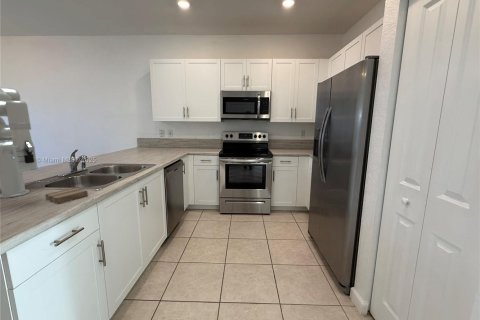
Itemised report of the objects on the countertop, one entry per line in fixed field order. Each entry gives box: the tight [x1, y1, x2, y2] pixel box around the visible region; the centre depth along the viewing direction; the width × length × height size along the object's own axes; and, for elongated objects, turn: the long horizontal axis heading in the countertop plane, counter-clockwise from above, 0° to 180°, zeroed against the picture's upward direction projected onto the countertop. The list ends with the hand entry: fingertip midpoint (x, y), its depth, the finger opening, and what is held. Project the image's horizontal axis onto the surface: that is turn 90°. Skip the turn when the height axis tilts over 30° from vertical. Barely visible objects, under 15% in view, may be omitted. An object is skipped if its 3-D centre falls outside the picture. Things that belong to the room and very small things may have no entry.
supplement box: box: [12, 144, 39, 173], centre depth 110 cm, size 7×7×13 cm
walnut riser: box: [44, 187, 89, 205], centre depth 122 cm, size 14×14×3 cm
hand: (26, 161), depth 110 cm, fingers closed on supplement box, 8 cm apart
